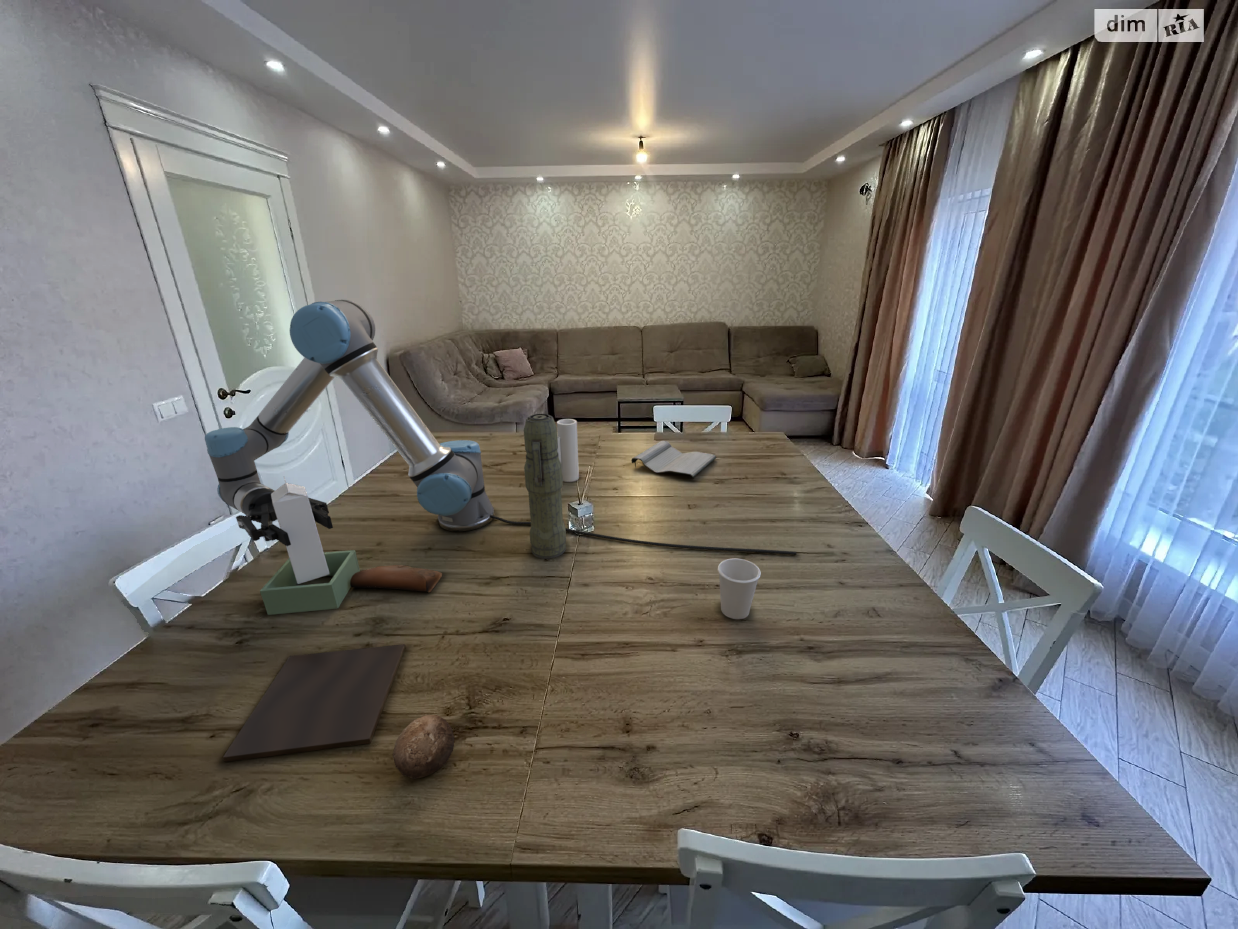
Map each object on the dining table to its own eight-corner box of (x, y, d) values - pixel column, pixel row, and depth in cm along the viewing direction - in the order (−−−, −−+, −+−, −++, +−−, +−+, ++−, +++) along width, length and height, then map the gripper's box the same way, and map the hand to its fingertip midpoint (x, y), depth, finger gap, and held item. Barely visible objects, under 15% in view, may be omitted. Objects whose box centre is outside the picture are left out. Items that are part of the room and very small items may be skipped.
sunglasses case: (444, 571, 113) (434, 558, 108) (435, 600, 109) (424, 588, 103) (372, 567, 115) (358, 554, 109) (360, 595, 110) (345, 583, 105)
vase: (579, 473, 168) (577, 418, 161) (578, 482, 162) (576, 424, 154) (546, 474, 168) (542, 419, 160) (544, 483, 161) (540, 425, 154)
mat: (693, 482, 161) (693, 469, 159) (631, 469, 172) (631, 457, 170) (716, 460, 179) (717, 448, 178) (659, 450, 190) (659, 438, 189)
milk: (297, 584, 101) (267, 489, 93) (294, 571, 106) (265, 479, 97) (330, 574, 104) (303, 481, 96) (326, 561, 109) (300, 472, 101)
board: (405, 648, 91) (404, 643, 90) (370, 743, 72) (369, 738, 72) (291, 660, 88) (289, 655, 88) (224, 762, 70) (222, 757, 69)
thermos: (567, 536, 128) (560, 409, 115) (564, 561, 117) (556, 423, 104) (534, 537, 128) (523, 409, 115) (528, 562, 117) (515, 424, 104)
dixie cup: (732, 628, 95) (736, 586, 91) (706, 604, 102) (709, 564, 98) (764, 615, 98) (769, 574, 95) (737, 593, 105) (741, 554, 102)
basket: (360, 571, 114) (355, 549, 112) (337, 608, 101) (331, 584, 99) (298, 576, 112) (291, 554, 110) (267, 615, 100) (259, 591, 97)
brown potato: (406, 713, 73) (408, 706, 69) (458, 724, 75) (463, 717, 70) (384, 775, 68) (384, 771, 63) (440, 785, 70) (444, 782, 65)
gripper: (312, 501, 119) (361, 526, 107) (212, 536, 104) (257, 570, 92) (304, 473, 116) (354, 496, 104) (200, 505, 101) (245, 536, 89)
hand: (309, 530), depth 98 cm, fingers closed on milk, 7 cm apart
